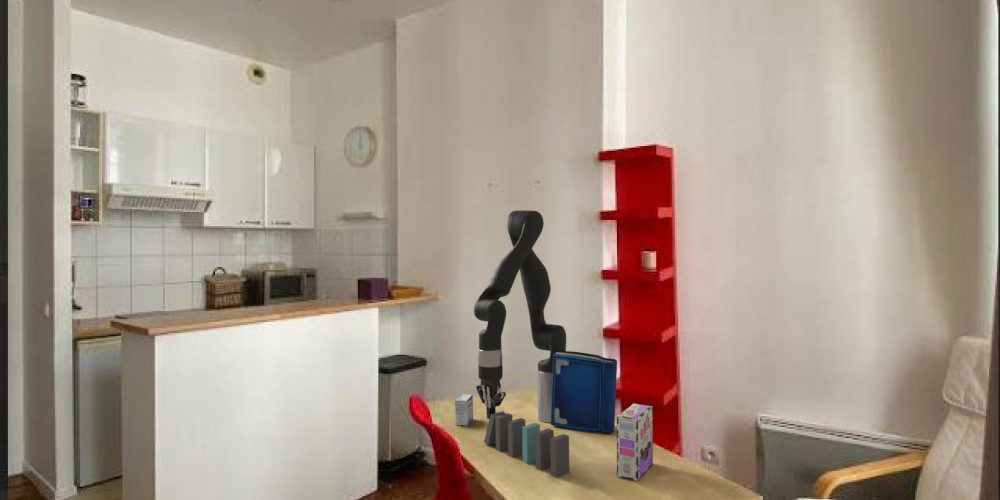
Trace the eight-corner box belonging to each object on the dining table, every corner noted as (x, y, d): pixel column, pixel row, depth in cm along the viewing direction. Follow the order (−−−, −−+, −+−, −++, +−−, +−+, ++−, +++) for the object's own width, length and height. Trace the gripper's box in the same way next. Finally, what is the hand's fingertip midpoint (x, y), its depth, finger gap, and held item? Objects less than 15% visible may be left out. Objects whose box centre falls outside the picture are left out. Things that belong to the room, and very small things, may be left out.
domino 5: (549, 463, 158) (548, 428, 158) (553, 465, 156) (553, 430, 156) (535, 468, 155) (535, 432, 155) (540, 470, 153) (540, 434, 153)
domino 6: (564, 470, 153) (563, 433, 153) (569, 472, 152) (568, 435, 152) (550, 475, 150) (550, 438, 150) (555, 477, 149) (555, 440, 149)
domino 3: (521, 451, 167) (520, 418, 167) (525, 453, 166) (525, 419, 166) (508, 455, 164) (507, 421, 164) (512, 457, 163) (512, 423, 163)
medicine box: (467, 426, 191) (467, 400, 191) (455, 425, 192) (454, 400, 192) (473, 418, 199) (473, 394, 198) (461, 418, 199) (460, 394, 199)
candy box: (637, 482, 146) (637, 418, 145) (616, 477, 149) (615, 415, 148) (653, 463, 157) (653, 405, 157) (633, 459, 160) (632, 402, 160)
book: (618, 430, 186) (619, 355, 185) (613, 437, 180) (614, 360, 178) (557, 420, 195) (557, 349, 194) (549, 427, 189) (550, 353, 188)
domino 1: (496, 438, 177) (503, 411, 174) (500, 442, 175) (507, 414, 172) (484, 442, 174) (490, 414, 171) (487, 445, 172) (494, 418, 169)
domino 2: (508, 445, 172) (508, 413, 172) (512, 447, 171) (512, 414, 170) (495, 449, 169) (495, 416, 169) (499, 451, 168) (499, 418, 167)
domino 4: (535, 457, 163) (535, 422, 163) (540, 459, 161) (539, 424, 161) (522, 461, 160) (522, 426, 160) (527, 463, 158) (526, 428, 158)
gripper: (513, 365, 171) (513, 421, 172) (487, 358, 182) (488, 411, 182) (493, 368, 167) (494, 426, 167) (468, 361, 177) (469, 416, 178)
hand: (491, 418), depth 175 cm, fingers closed
